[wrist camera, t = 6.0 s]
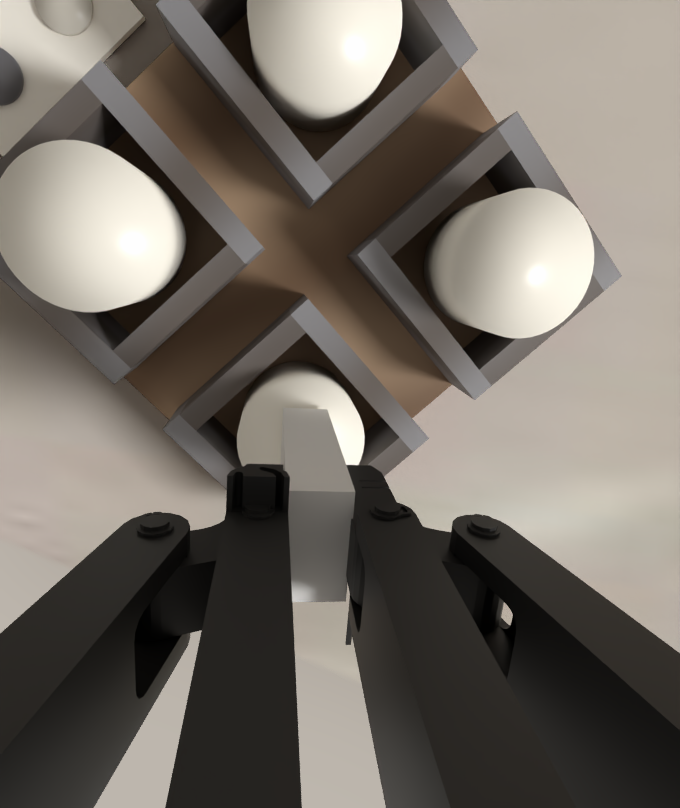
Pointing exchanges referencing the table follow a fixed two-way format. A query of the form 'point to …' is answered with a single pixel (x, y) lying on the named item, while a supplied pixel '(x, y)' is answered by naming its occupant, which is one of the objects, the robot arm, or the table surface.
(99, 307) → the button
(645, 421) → the table surface
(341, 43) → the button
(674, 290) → the table surface
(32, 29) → the card
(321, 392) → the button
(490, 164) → the button board
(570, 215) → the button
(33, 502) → the table surface
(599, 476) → the table surface
